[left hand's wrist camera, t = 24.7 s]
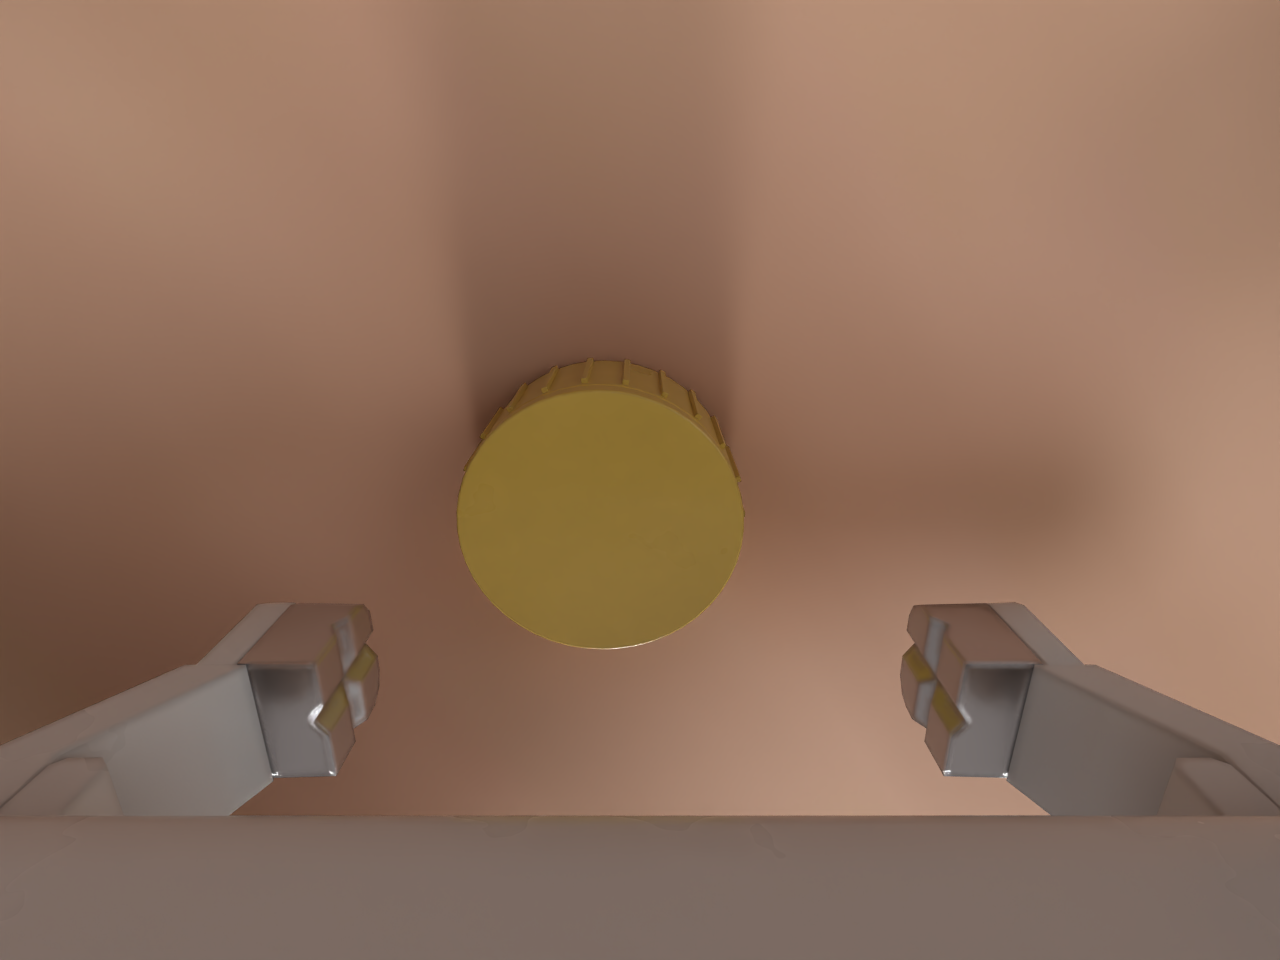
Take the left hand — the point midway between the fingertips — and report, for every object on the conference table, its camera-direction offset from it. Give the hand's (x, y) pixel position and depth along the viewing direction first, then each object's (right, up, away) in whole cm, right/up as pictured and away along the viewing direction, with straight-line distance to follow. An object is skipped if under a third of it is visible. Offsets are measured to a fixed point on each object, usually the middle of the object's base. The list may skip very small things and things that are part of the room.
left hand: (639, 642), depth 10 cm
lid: (-1, +2, +2) cm, 3 cm away
